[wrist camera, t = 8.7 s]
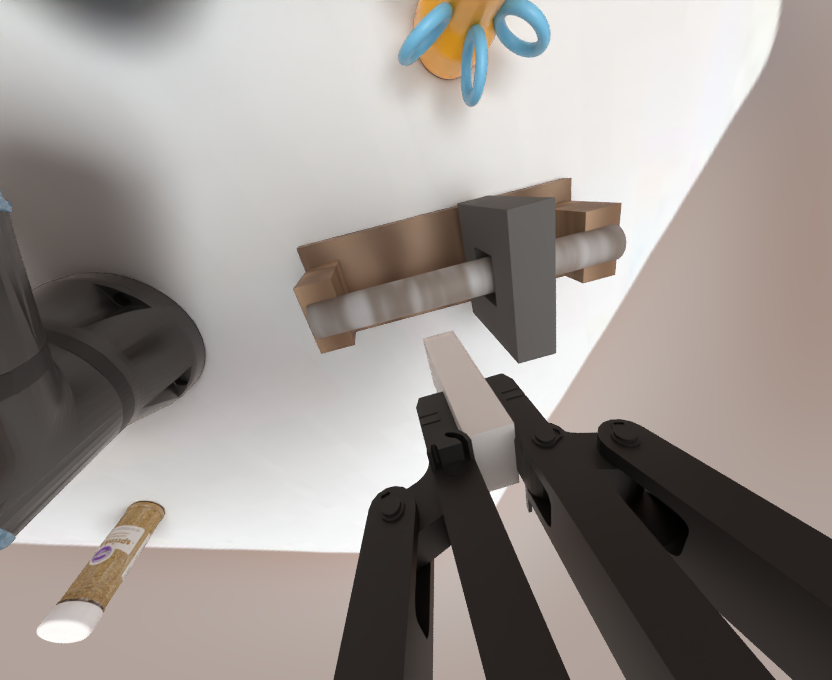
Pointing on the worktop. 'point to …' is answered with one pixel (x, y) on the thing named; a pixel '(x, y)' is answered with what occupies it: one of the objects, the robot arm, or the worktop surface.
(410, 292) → the pipe stand
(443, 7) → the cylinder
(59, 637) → the sprinkles bottle
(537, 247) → the collar
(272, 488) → the worktop surface
